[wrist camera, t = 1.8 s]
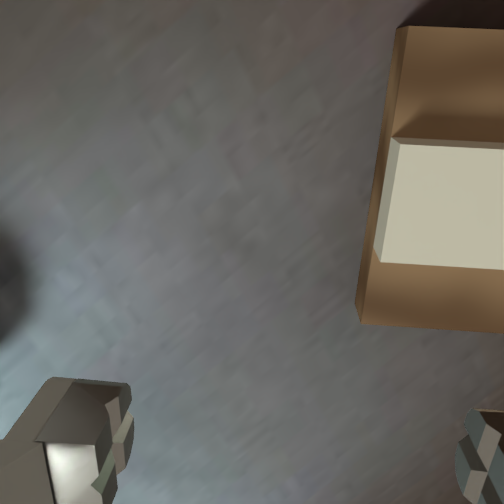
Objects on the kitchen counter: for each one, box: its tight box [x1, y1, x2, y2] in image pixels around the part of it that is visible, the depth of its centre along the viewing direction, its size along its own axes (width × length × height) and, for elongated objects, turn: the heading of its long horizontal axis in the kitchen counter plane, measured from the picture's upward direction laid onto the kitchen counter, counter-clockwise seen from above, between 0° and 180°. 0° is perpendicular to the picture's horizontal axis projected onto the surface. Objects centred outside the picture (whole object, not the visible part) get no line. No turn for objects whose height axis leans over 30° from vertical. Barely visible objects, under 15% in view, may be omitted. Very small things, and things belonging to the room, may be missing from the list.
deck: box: [355, 26, 504, 334], centre depth 25 cm, size 16×12×2 cm
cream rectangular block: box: [373, 137, 504, 270], centre depth 23 cm, size 9×6×2 cm, turn 88°
